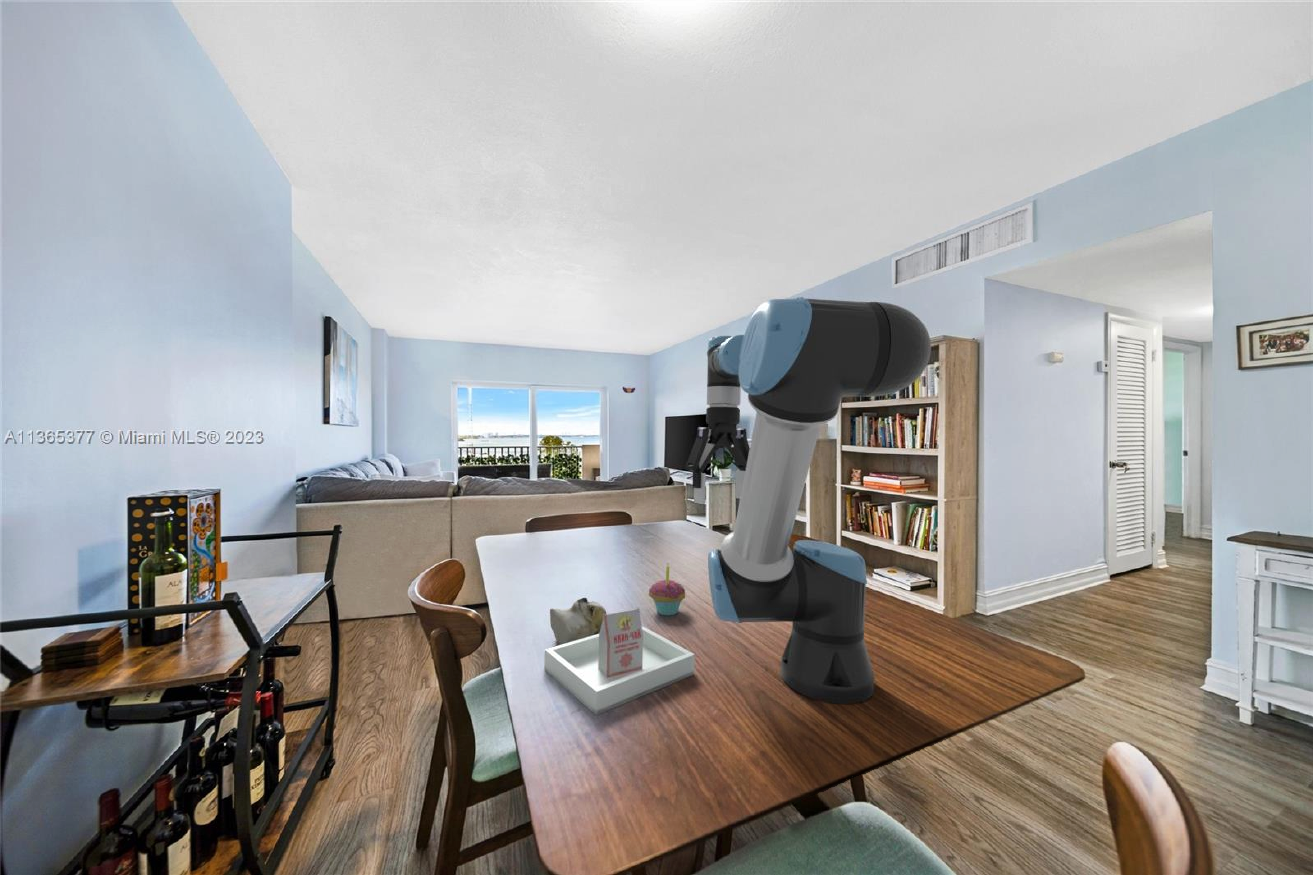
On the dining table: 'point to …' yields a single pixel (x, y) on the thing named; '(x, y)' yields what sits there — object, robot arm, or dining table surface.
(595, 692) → the tray
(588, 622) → the ceramic sculpture
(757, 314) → the robot arm
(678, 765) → the dining table surface
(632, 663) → the white printed box
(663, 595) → the cupcake
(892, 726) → the dining table surface
